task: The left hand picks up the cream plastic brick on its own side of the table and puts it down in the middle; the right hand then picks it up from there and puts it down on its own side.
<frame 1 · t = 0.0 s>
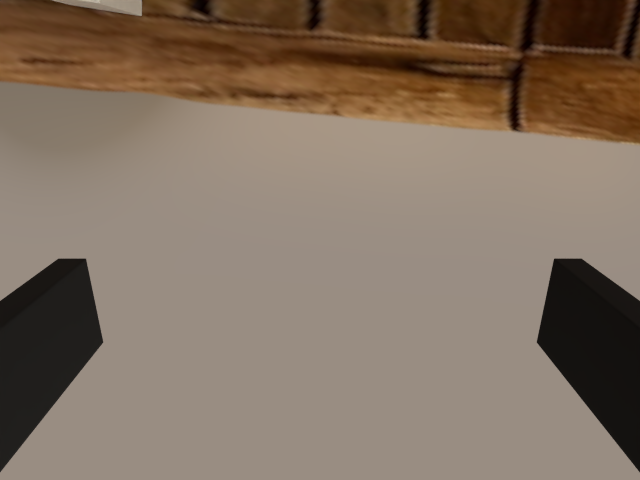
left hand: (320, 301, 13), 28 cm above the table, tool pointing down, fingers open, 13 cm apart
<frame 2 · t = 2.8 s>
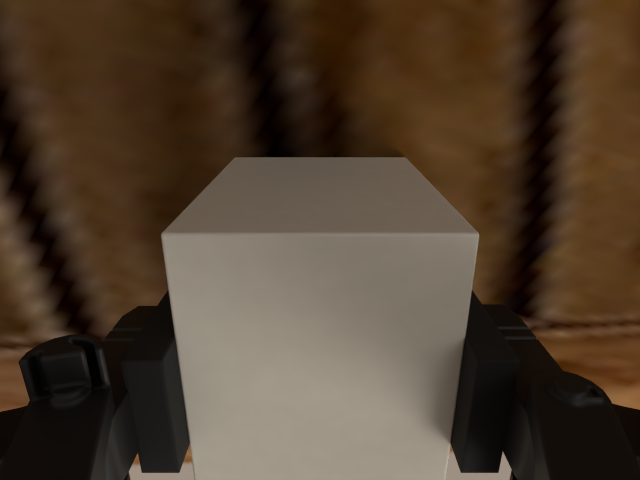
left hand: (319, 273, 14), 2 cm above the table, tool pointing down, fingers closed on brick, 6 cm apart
brick: (320, 254, 16), on the table, touching left hand
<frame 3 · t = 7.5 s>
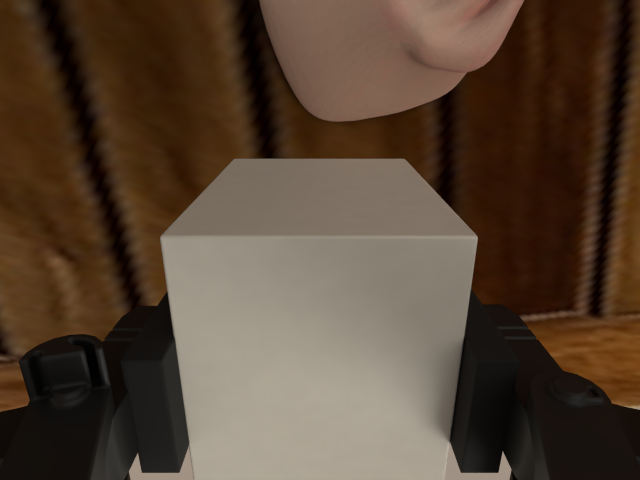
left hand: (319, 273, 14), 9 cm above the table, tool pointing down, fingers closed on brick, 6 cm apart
brick: (319, 256, 16), point 7 cm above the table, touching left hand
when the left hand's fingers open (3 cm above the table, at t = 12.0 s): brick drops 2 cm, on the table.
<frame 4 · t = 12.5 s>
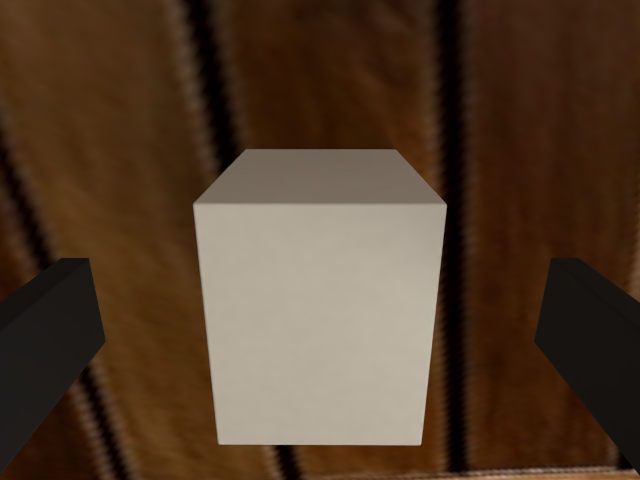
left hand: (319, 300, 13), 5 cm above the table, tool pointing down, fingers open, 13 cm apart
brick: (320, 236, 18), on the table
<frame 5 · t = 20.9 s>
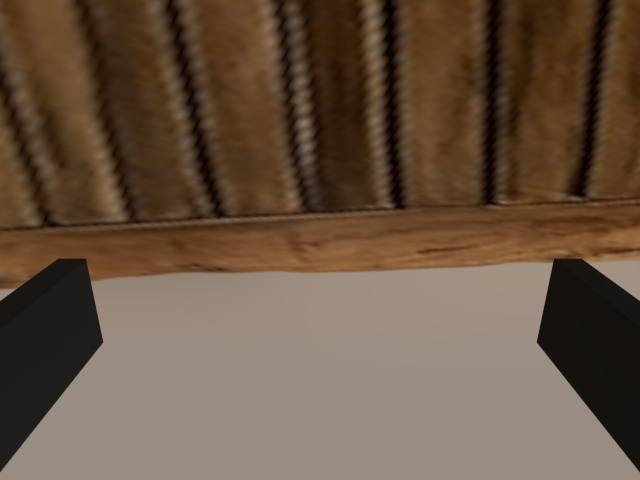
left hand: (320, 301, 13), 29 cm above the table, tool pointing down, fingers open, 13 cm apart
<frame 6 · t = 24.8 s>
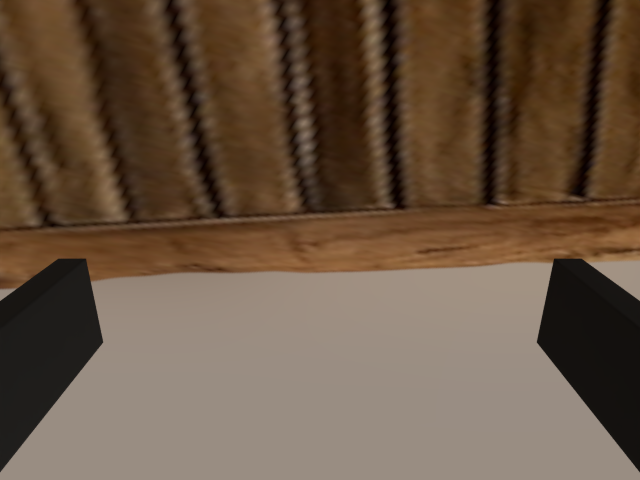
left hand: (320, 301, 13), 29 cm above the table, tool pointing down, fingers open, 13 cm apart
when the right hand's fingers open (4 cm above the table, at t = 28.8 s): brick drops 2 cm, on the table.
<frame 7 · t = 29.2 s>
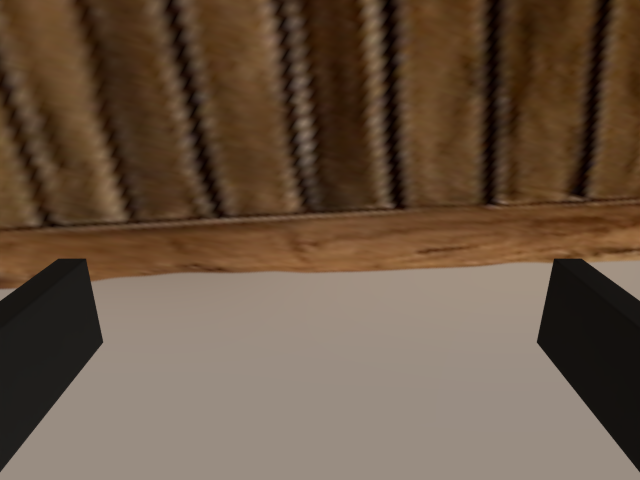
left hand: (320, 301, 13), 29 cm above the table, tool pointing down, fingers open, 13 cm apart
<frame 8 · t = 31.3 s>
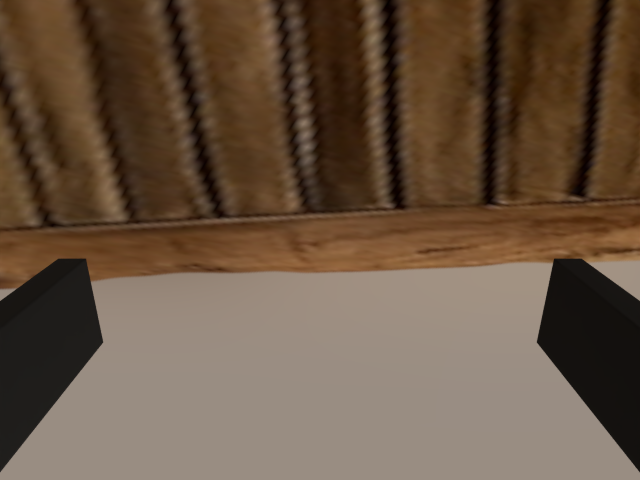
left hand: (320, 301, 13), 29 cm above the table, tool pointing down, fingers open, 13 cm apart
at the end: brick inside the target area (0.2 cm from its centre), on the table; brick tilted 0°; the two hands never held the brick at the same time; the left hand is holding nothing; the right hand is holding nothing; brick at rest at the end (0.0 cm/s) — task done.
